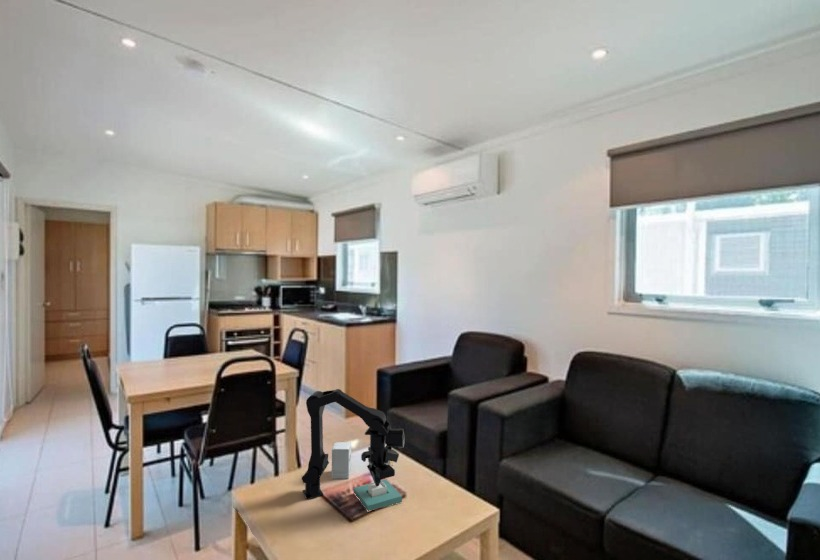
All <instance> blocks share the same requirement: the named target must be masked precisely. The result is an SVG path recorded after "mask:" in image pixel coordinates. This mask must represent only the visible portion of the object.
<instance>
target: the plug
mask: <svg viewBox="0 0 820 560" xmlns="http://www.w3.org/2000/svg"><path fill="white" fill-rule="evenodd" d="M368 494H369V496H370V497H371V498H373V497H376V496H380V495H383V494H387V486H386V485H385V484H384V483H383V482H380V484H379V486H376V485H375V484H371V485H368Z"/></svg>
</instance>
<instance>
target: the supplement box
mask: <svg viewBox="0 0 820 560" xmlns="http://www.w3.org/2000/svg"><path fill="white" fill-rule="evenodd" d="M351 471H352V442H343V441H342V442H339V441H338V442H334V443H333V446H332V449H331V479H335V480H337V479H341V480H349V478H350V474H351Z"/></svg>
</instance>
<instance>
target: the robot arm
mask: <svg viewBox="0 0 820 560" xmlns="http://www.w3.org/2000/svg"><path fill="white" fill-rule="evenodd" d="M305 401H306V402H305V405H306V410H307V413H308V415H309V418H310V444H311V445H310V446H311V447H310V449H311V450H310V451H311V453H310V457H309V461H308V463H307V464H308V466H307V470H306V471H305V472H304V474H303V475H302V476H301V480H302V483H303V484H305V485H304V486H305V487H304V489H303V490H302V493H303V495H304V497H305V499H306V500H309V499H313V498H317V497H321V496H323V495H324V493H323V491H322V490H321V476H322V475H323V473H324V472H325V470H326V469H327V467H328V465H329V464H330V462H329V453H325V450H324V437H323V436H324V435H323V434H324V433H323V429H324V427H323V425H324V424H323V422H324V421H323V413H324V411H325V408H326V407H325V406H328V405H330V404H332V403H336V404H338V406H339V405H340V407H343V408H344V409H346V410H348V411H349V412H351V413H352V414H354V415H356V416H357V417H359V418H361V420H362V421H363V422H364V424H365V425H366V426H367V427H368V428H367V429H366V430H365V432H364V435H365V436H369V446H368V448H367V451H363V452H362V453H361V456H360V460H361V461H362V462H366V461H367V462H368V465H366V467H367V469H368V472H369V473H370V475H371V478H372V480H373V483H375V485H376V486H379V484H380V481H382V480H386V479H388V478H391V477H395V475H396V470H395V468H393V466H390V465H386V464H385V463H388V461H390V462H394V463H398V460H399V457H400V453H398V451H396V450H394V448H400V449H401V448H402V449H403V448H404V447H405V440H406V439H405V438H406V435H405V431H404V430H405V429H404V428H401V427H400V428H394V427H393V428H392V425H391V423H390V422H389V421H388V420H387V417H386V414H385V412H384V411H383V410H382V411H381V410H379V409H377V408H375V407H373V408H372V407H368V406H366V405H364V404H363V403H362V402H360V401H359V400H356V399H355V398H353V397H351V396H350V395H349V394H347V393H346V392H344V391H343V390H341V389H340V388H336V389H332V390H326V391H320V390H317V391H314V392H313V393H312V394H311V395H310V396H308V398H306V400H305ZM322 494H323V495H322Z"/></svg>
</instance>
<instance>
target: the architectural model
mask: <svg viewBox="0 0 820 560" xmlns="http://www.w3.org/2000/svg"><path fill="white" fill-rule="evenodd" d="M385 464H386V465H390V466H391V467H393V466H394V464H395V462H393V461H388V463H385Z"/></svg>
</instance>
